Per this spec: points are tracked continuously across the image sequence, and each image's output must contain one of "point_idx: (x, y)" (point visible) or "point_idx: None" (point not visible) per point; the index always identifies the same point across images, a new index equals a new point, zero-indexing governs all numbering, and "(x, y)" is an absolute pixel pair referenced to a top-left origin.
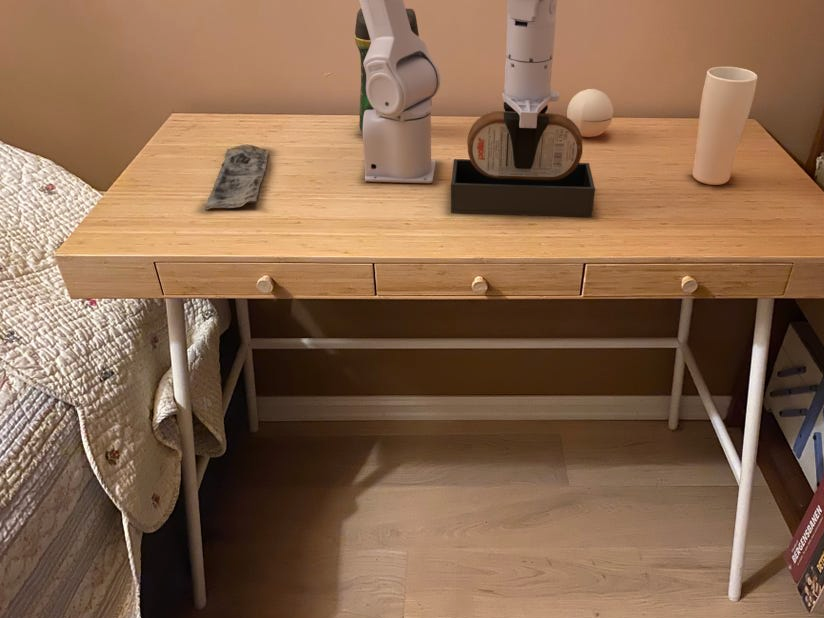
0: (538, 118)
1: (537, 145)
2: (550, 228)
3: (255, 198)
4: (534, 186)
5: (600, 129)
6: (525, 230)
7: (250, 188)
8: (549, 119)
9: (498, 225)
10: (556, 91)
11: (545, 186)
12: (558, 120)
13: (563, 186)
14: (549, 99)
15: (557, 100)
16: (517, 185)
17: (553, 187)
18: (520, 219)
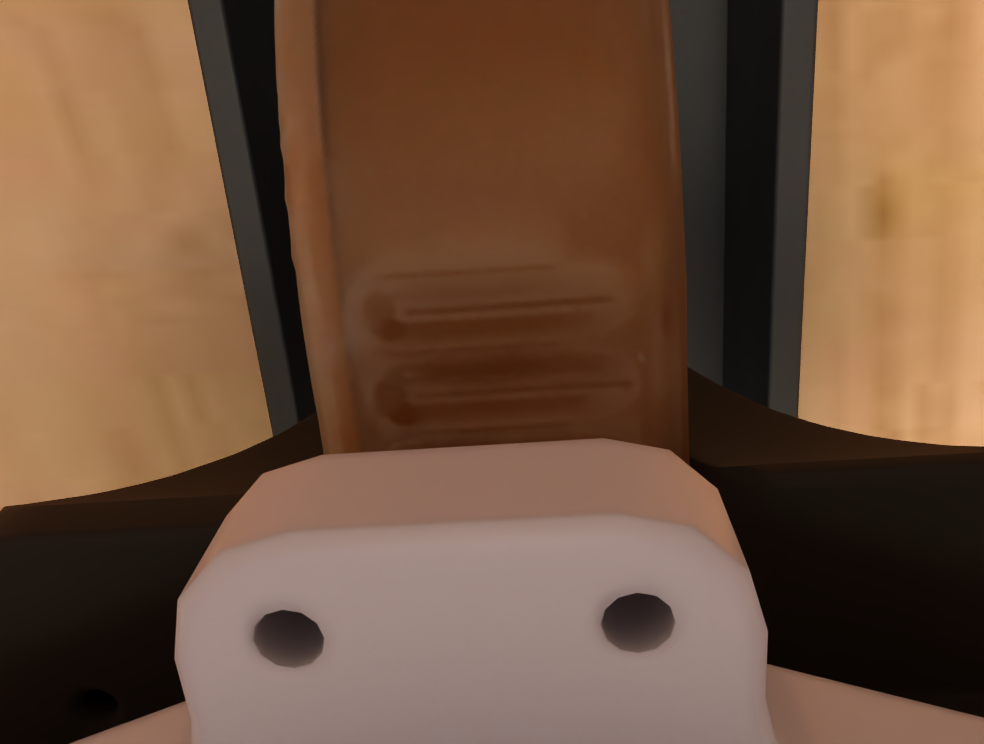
0: (913, 648)
1: (759, 407)
2: (945, 79)
3: None
4: (794, 274)
5: None
6: (969, 251)
7: None
8: (597, 406)
9: (891, 416)
10: (219, 611)
11: (790, 179)
12: (614, 239)
13: (787, 6)
14: (830, 735)
15: (708, 487)
16: (780, 407)
17: (811, 104)
18: (804, 290)
